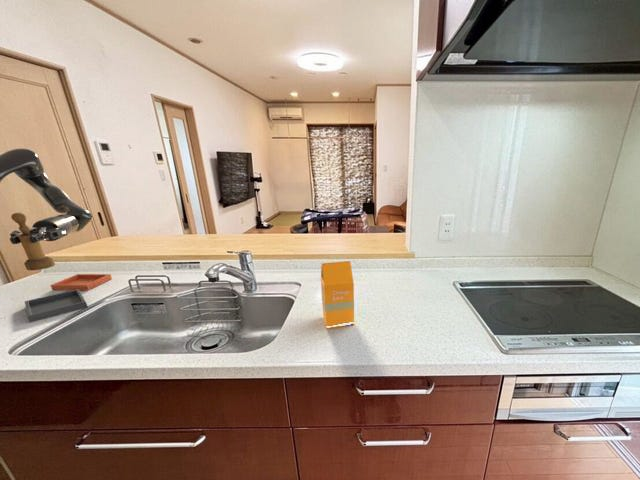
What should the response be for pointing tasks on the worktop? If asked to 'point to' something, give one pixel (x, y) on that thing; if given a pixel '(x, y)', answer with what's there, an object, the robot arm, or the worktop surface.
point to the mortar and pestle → (31, 246)
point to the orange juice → (337, 293)
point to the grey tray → (54, 305)
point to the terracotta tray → (81, 282)
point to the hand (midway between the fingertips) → (22, 240)
